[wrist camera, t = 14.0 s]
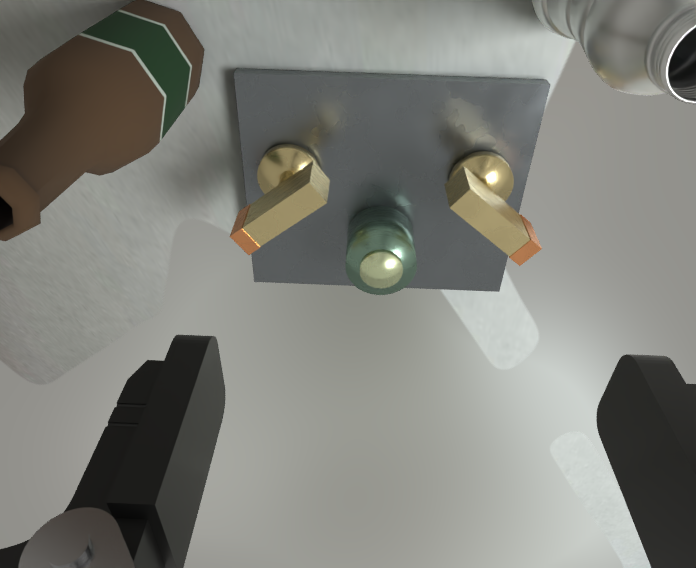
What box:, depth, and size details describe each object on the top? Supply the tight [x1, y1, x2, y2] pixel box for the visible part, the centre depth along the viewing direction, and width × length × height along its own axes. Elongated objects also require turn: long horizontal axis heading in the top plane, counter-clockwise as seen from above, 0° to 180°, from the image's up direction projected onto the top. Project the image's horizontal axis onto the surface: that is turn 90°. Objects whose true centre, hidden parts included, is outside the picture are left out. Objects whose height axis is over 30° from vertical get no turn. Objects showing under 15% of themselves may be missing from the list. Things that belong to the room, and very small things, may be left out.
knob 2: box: [444, 151, 542, 266], centre depth 43 cm, size 8×5×8 cm
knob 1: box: [230, 144, 330, 255], centre depth 44 cm, size 8×5×8 cm
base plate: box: [234, 68, 550, 295], centre depth 46 cm, size 20×24×7 cm
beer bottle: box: [0, 0, 204, 241], centre depth 33 cm, size 8×8×24 cm
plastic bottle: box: [532, 0, 696, 104], centre depth 30 cm, size 6×7×20 cm
